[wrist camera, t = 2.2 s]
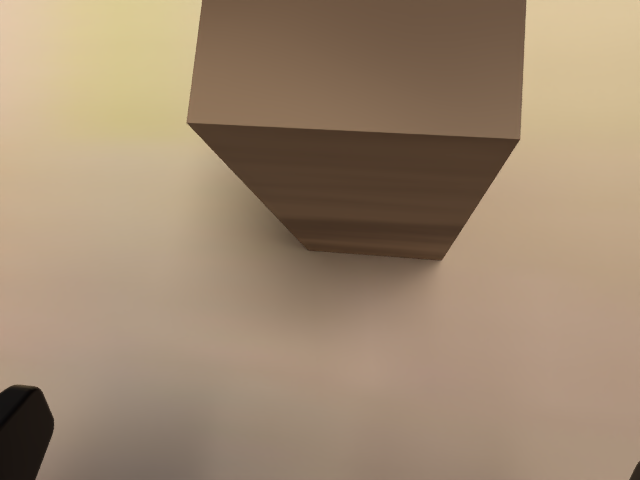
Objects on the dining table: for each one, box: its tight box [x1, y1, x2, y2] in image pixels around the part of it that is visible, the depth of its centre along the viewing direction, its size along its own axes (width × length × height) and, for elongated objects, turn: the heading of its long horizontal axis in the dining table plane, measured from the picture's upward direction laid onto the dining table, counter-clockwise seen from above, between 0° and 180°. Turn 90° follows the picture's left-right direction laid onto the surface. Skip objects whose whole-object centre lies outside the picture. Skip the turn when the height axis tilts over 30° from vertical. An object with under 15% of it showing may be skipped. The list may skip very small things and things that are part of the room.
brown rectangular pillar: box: [187, 0, 526, 260], centre depth 16 cm, size 5×5×14 cm
